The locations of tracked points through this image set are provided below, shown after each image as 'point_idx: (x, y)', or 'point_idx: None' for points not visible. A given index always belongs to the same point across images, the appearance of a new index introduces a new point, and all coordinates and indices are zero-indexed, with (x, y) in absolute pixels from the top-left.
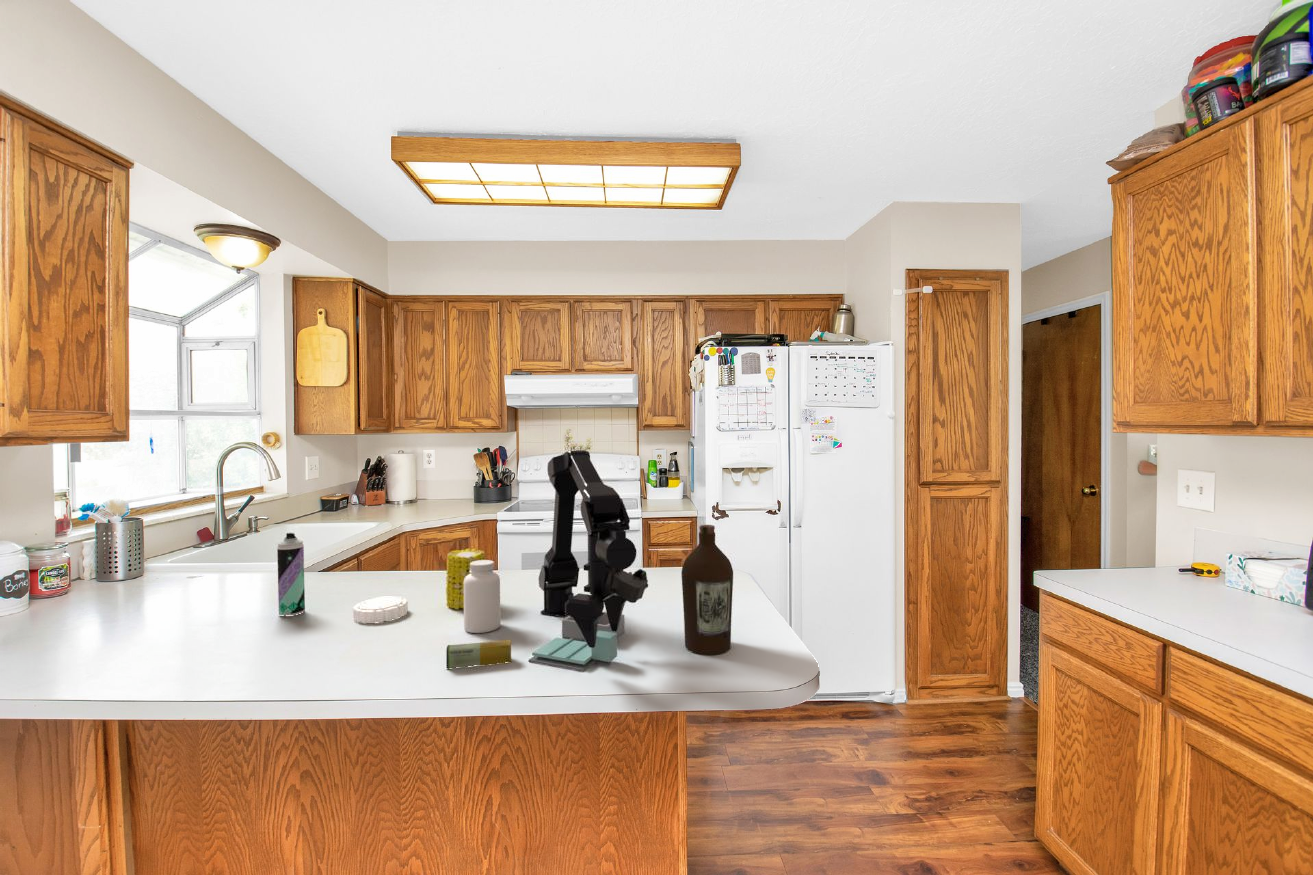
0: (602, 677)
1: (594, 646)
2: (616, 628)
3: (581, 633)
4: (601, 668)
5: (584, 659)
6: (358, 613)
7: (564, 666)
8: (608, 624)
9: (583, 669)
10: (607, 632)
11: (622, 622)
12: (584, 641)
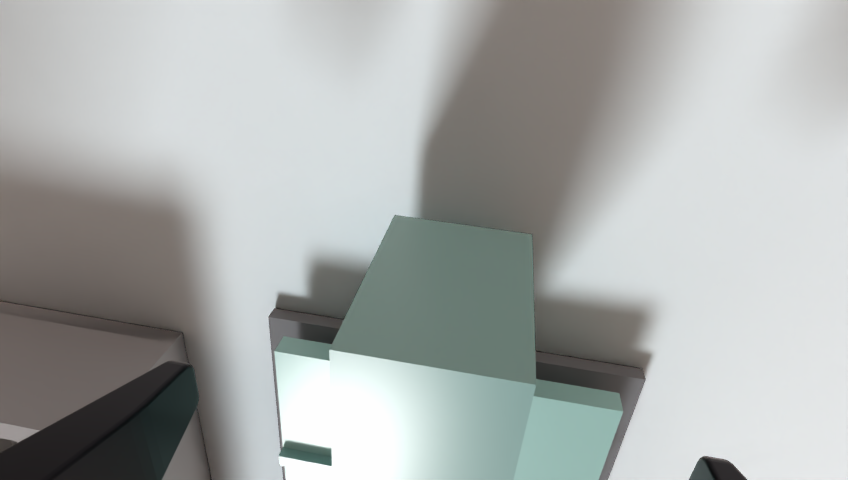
0: (744, 211)
1: (726, 464)
2: (173, 381)
3: None
4: (565, 267)
5: (585, 416)
6: None
7: (606, 476)
8: None
9: (629, 371)
10: (350, 440)
11: None
12: (205, 457)
